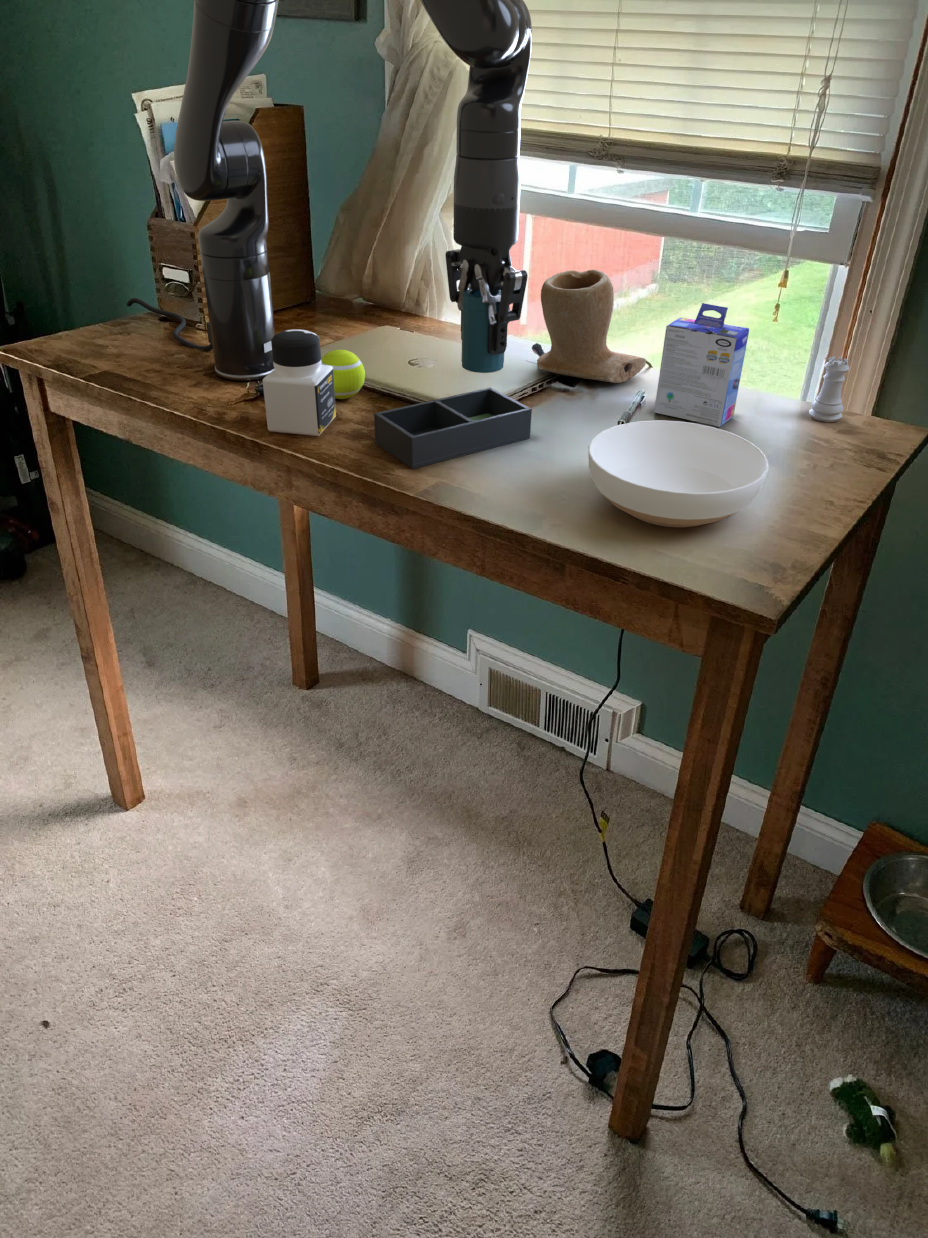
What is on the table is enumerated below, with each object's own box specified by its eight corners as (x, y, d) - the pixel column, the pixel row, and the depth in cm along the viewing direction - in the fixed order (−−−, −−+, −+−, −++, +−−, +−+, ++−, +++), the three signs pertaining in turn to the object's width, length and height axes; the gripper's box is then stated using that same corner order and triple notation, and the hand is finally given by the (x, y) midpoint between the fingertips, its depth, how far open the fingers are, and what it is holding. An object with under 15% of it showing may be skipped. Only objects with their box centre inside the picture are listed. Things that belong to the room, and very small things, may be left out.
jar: (453, 363, 118) (454, 290, 113) (487, 356, 121) (489, 284, 116) (477, 375, 115) (478, 300, 110) (511, 368, 117) (514, 294, 112)
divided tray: (374, 443, 120) (373, 413, 118) (489, 415, 128) (490, 386, 126) (412, 469, 114) (411, 438, 111) (530, 438, 122) (532, 408, 120)
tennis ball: (362, 406, 130) (360, 359, 126) (314, 405, 130) (310, 357, 127) (369, 389, 136) (367, 343, 132) (322, 388, 136) (319, 342, 132)
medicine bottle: (319, 437, 121) (312, 344, 114) (267, 432, 122) (257, 339, 116) (336, 416, 127) (331, 327, 120) (286, 412, 128) (278, 323, 121)
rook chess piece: (802, 416, 130) (815, 359, 125) (816, 408, 132) (830, 351, 128) (833, 425, 127) (847, 367, 123) (847, 416, 130) (861, 359, 125)
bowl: (630, 454, 118) (636, 407, 115) (782, 496, 109) (794, 446, 106) (551, 512, 105) (555, 461, 101) (718, 565, 96) (728, 511, 92)
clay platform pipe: (520, 377, 141) (525, 273, 132) (556, 356, 149) (563, 257, 141) (613, 398, 134) (625, 290, 126) (646, 374, 143) (659, 272, 134)
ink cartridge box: (735, 416, 129) (755, 309, 121) (722, 429, 125) (741, 319, 117) (667, 401, 134) (682, 297, 126) (652, 413, 130) (666, 306, 122)
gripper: (551, 206, 104) (542, 358, 113) (478, 186, 114) (475, 327, 123) (496, 213, 100) (491, 369, 110) (425, 191, 110) (426, 336, 120)
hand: (482, 346), depth 116 cm, fingers closed on jar, 5 cm apart
